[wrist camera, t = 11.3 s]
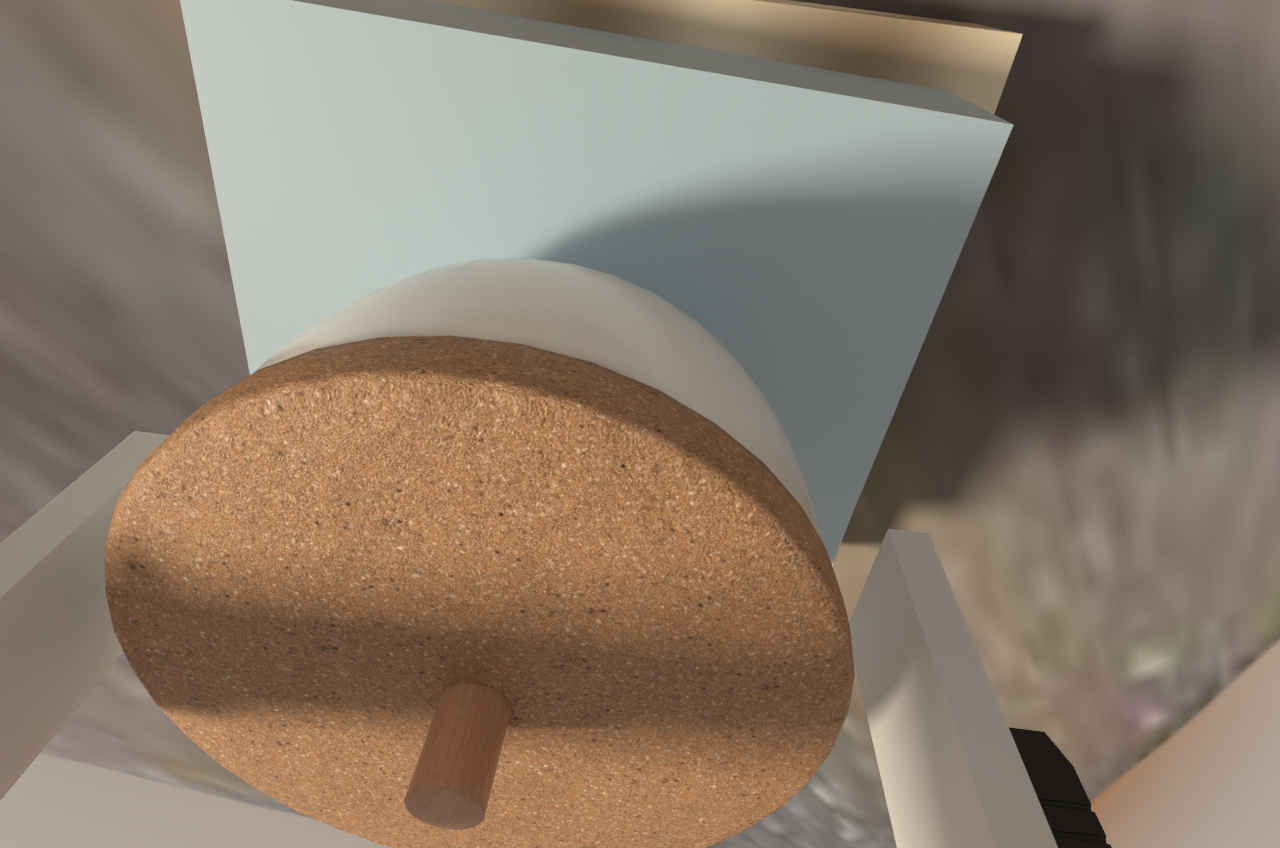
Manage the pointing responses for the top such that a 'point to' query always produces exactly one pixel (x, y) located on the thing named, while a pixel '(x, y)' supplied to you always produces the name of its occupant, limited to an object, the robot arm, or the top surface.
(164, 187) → the top surface
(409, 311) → the lidded jar
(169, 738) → the top surface
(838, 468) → the tower top
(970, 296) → the top surface
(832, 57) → the tower base
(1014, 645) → the top surface
